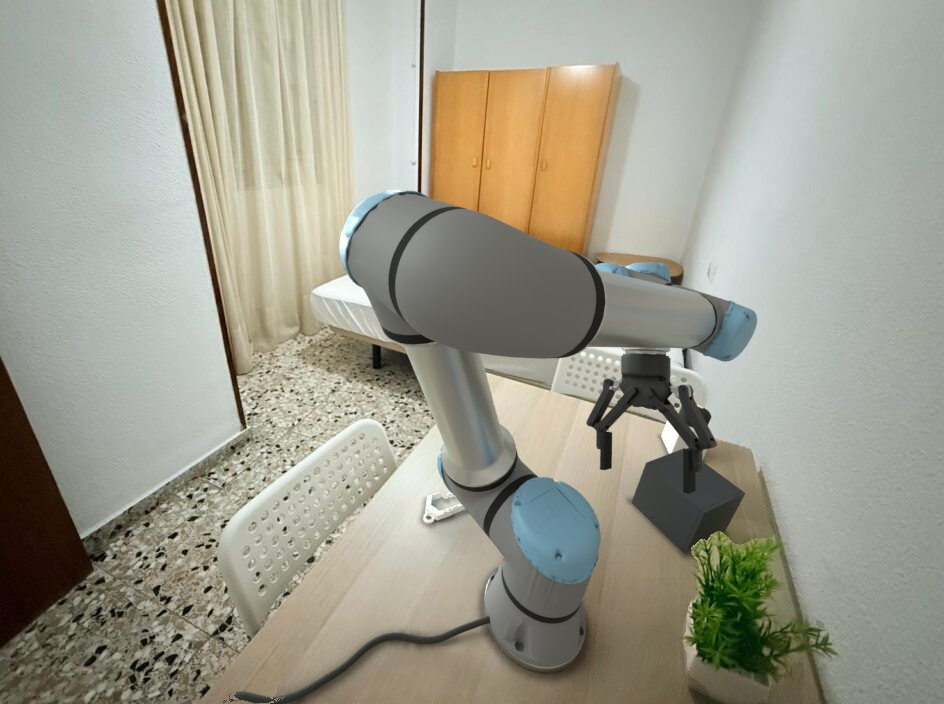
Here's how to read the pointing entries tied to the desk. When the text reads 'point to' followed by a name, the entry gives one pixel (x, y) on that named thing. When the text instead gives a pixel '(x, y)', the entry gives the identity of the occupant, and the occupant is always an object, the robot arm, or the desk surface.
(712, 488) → the dark grey cube box
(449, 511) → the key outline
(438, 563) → the desk surface
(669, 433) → the medicine bottle
